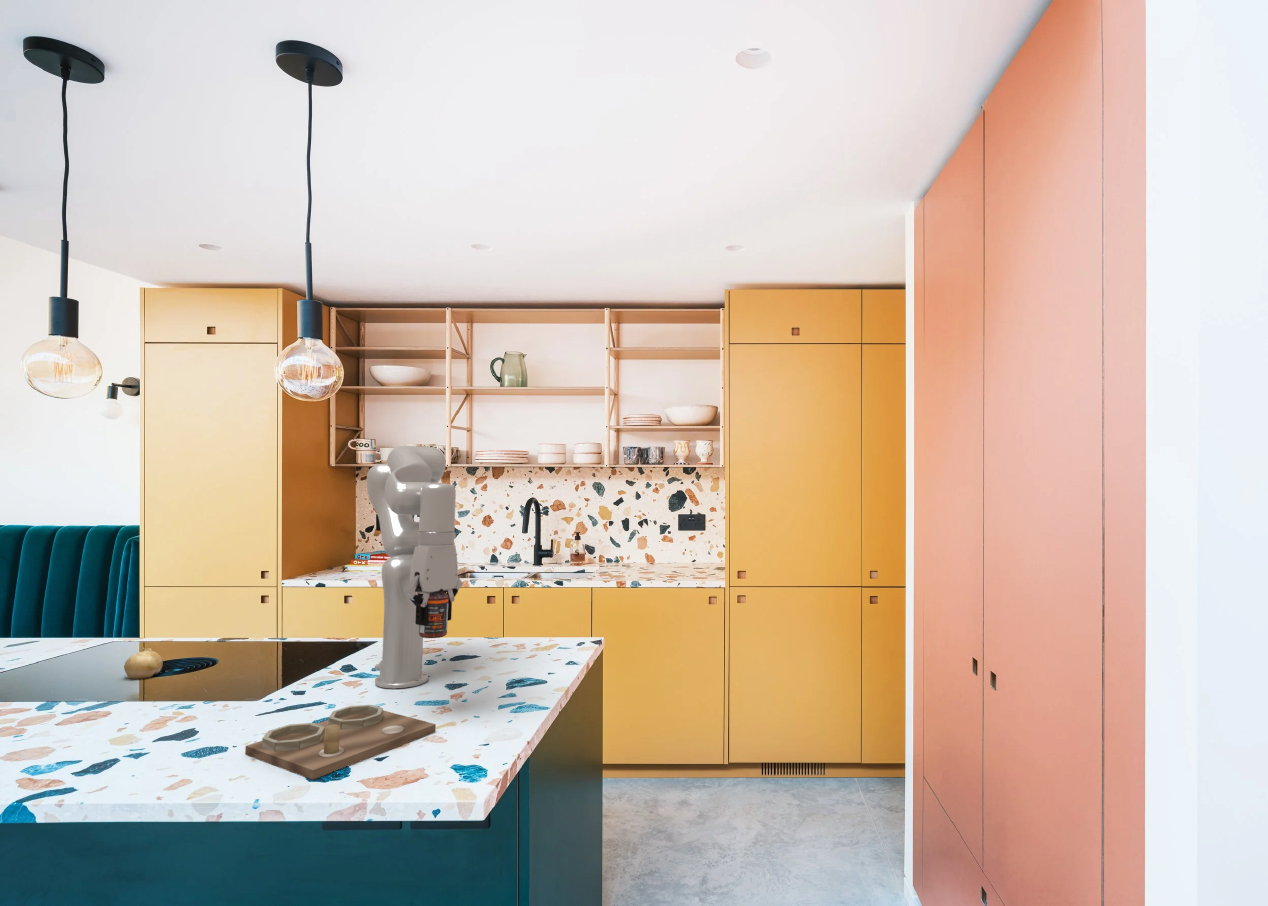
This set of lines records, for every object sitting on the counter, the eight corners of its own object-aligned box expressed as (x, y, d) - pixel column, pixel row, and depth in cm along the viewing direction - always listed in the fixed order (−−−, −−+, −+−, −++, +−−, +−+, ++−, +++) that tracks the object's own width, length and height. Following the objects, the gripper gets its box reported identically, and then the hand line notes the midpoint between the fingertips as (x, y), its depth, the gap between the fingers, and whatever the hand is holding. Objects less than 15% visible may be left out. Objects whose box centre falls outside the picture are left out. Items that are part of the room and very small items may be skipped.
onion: (167, 676, 167) (169, 647, 168) (131, 683, 161) (133, 653, 161) (154, 671, 172) (155, 643, 172) (117, 678, 165) (119, 649, 166)
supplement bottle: (421, 640, 138) (423, 586, 139) (416, 634, 144) (418, 582, 144) (449, 637, 141) (451, 585, 142) (444, 632, 147) (446, 581, 147)
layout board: (245, 754, 117) (246, 720, 117) (369, 714, 139) (370, 685, 140) (312, 779, 107) (314, 742, 107) (435, 731, 129) (436, 700, 129)
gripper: (453, 536, 153) (450, 614, 152) (392, 540, 138) (389, 626, 137) (477, 538, 149) (474, 618, 148) (417, 543, 134) (413, 631, 133)
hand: (433, 621), depth 143 cm, fingers closed on supplement bottle, 6 cm apart
